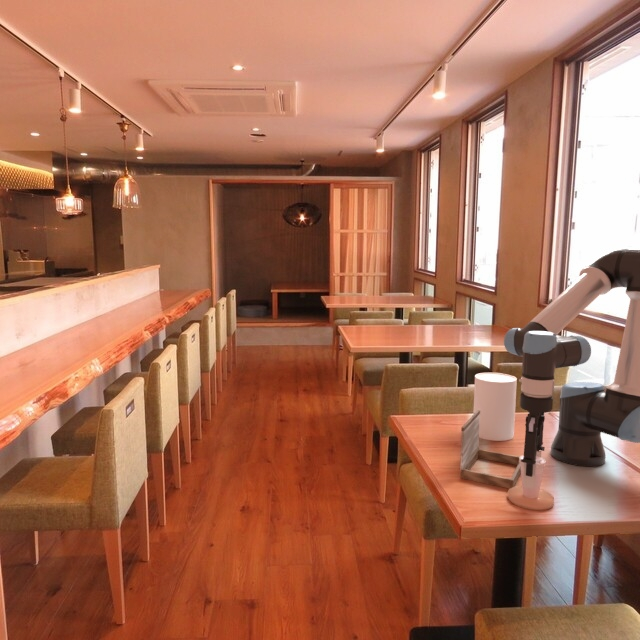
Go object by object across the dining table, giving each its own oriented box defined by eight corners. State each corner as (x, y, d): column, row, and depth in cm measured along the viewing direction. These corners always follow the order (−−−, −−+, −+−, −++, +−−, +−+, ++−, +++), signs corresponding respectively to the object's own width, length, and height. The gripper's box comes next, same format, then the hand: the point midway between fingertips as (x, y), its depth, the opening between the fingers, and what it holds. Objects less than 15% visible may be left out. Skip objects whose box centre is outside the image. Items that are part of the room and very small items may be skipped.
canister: (508, 443, 176) (511, 384, 173) (467, 436, 183) (470, 378, 180) (517, 431, 187) (520, 375, 185) (478, 424, 194) (481, 370, 192)
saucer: (556, 496, 139) (556, 491, 139) (550, 514, 130) (551, 509, 130) (512, 486, 145) (512, 482, 145) (503, 503, 135) (504, 499, 135)
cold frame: (524, 465, 159) (527, 417, 157) (512, 489, 143) (515, 436, 141) (471, 454, 167) (473, 409, 164) (454, 476, 151) (456, 426, 149)
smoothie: (546, 502, 133) (549, 448, 131) (519, 499, 135) (522, 446, 133) (541, 490, 140) (544, 439, 138) (515, 488, 141) (517, 437, 139)
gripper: (527, 382, 144) (523, 463, 147) (513, 401, 126) (508, 493, 130) (557, 386, 140) (552, 469, 144) (547, 406, 123) (541, 500, 126)
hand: (531, 480), depth 137 cm, fingers open, 8 cm apart
